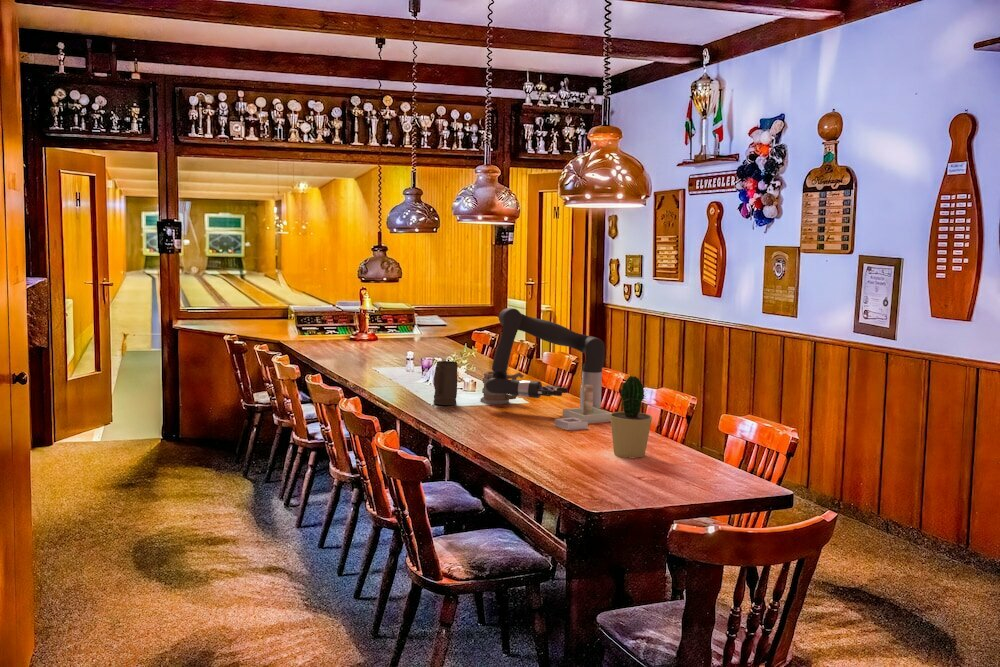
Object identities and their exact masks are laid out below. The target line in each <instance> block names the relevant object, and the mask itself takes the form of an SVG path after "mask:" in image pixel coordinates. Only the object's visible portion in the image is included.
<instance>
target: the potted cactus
mask: <svg viewBox="0 0 1000 667" xmlns="http://www.w3.org/2000/svg"><path fill="white" fill-rule="evenodd" d="M624 380H625V381H624ZM624 380H623V381H624V383H622V385H621V391H620V392H619V394H620V397H621V399H622V400H621V401H620V403H622V404H621V406H622V408H621V410H622V411H615V412H614V411H613V412H611V414H610V416H611V421H610V427H611V436H612V446H613V447H612V449H613V453H614V456H616V455H617V456H616V457H619V456H621V457H620V458H623V457H631V458H630V459H636V458H635V457H642V456H644V457H645V456H646V452H647V450H646V449H647V447H648V446H647V445H648V440H649V434H650V431H651V425H652V420H653V419H652V418H653V416H652V415H650V414H648V413H643V412H640V411H641V409H643V408H644V407H643V406H642V404H643V403H644V399H645V398H646V397H647V393H646V394H645V392H646V390H645V386H644V381H641V379H640V378H639V377H638V376H634V374H633V375H631V376H627V377H626V378H624ZM632 457H634V458H632ZM642 458H643V457H642Z"/></svg>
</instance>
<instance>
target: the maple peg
mask: <svg viewBox="0 0 1000 667" xmlns="http://www.w3.org/2000/svg"><path fill="white" fill-rule="evenodd" d="M592 409H593V385H584V405H583V415H592Z"/></svg>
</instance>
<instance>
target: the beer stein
mask: <svg viewBox="0 0 1000 667" xmlns="http://www.w3.org/2000/svg"><path fill="white" fill-rule="evenodd" d="M458 365H459V364H458V362H457V361H450V360H438V361H436V364H435V369H434V375H433V387H434V395H433V400H432V401H433V405H434V404H435V405H442V406H455V405H457V397H458V396H457V395H458V393H457V392H458V367H459V366H458Z"/></svg>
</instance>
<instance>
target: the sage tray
mask: <svg viewBox="0 0 1000 667" xmlns="http://www.w3.org/2000/svg"><path fill="white" fill-rule="evenodd" d="M611 413H612V412H610V411H607V410H605V409H601V408H599V409H598V408H595V407H593V409H592V415H583V408H582V407H576V408H575V407H573V408H564V409H563V408H562V418H572V417H575V418H578V419H581V420H584V421H587V422H588V424H599V423H608V422H609V421H610V422H611V416H610V414H611Z"/></svg>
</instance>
